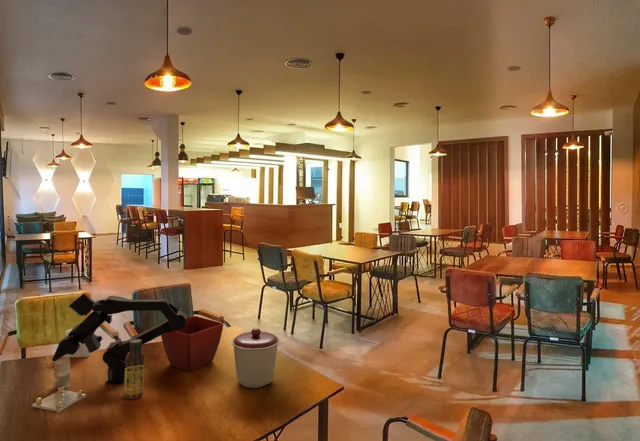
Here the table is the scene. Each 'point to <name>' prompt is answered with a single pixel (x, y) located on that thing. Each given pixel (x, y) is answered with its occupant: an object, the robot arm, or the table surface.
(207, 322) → the plant pot
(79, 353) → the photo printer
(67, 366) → the maple peg
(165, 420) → the table surface
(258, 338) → the canister
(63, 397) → the base plate
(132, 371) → the sauce bottle
